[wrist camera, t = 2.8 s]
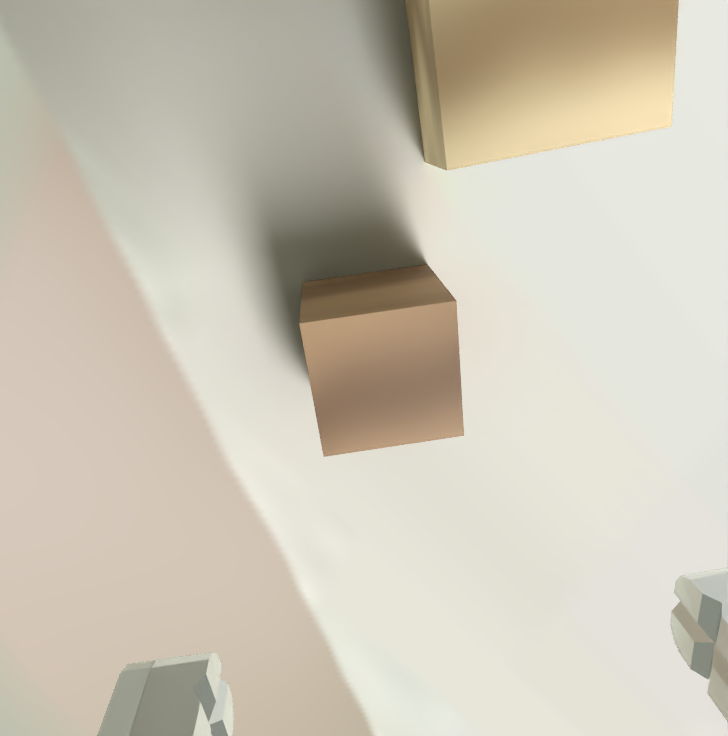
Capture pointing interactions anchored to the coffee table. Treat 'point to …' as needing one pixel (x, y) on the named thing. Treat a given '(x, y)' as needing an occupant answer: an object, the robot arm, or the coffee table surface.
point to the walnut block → (382, 359)
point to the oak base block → (538, 74)
